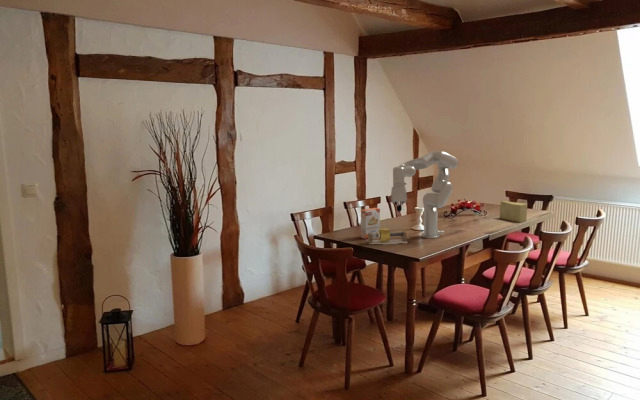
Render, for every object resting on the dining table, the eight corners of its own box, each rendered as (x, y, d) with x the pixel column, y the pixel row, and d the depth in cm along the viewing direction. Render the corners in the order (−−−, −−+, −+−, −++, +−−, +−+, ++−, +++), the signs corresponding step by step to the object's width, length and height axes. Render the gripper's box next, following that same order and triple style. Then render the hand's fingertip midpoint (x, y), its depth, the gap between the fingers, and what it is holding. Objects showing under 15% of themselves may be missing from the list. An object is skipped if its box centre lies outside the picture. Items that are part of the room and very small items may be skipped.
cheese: (496, 218, 408) (496, 201, 406) (503, 217, 413) (504, 200, 411) (519, 222, 390) (520, 204, 387) (526, 221, 395) (527, 203, 393)
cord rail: (403, 240, 342) (403, 229, 340) (407, 243, 333) (407, 232, 332) (367, 241, 339) (367, 231, 338) (370, 245, 330) (370, 234, 329)
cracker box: (366, 239, 346) (365, 210, 343) (360, 238, 351) (360, 209, 348) (380, 236, 354) (380, 208, 351) (374, 235, 359) (374, 207, 356)
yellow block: (387, 238, 339) (387, 227, 338) (389, 240, 332) (389, 230, 331) (378, 238, 338) (378, 228, 337) (381, 241, 332) (381, 230, 330)
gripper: (407, 183, 335) (408, 209, 338) (386, 184, 333) (387, 211, 336) (411, 185, 327) (411, 211, 331) (389, 186, 326) (389, 213, 329)
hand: (399, 211), depth 333 cm, fingers closed
